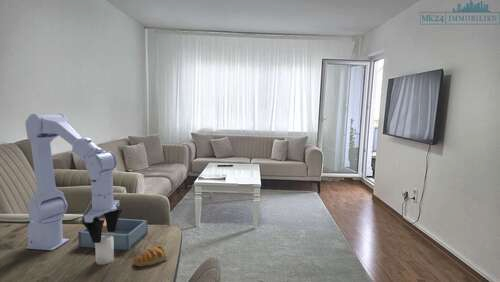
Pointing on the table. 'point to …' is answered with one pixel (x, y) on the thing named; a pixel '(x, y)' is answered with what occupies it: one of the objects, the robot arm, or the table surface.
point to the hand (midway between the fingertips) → (104, 236)
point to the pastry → (150, 256)
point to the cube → (105, 228)
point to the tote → (119, 234)
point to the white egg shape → (105, 250)
